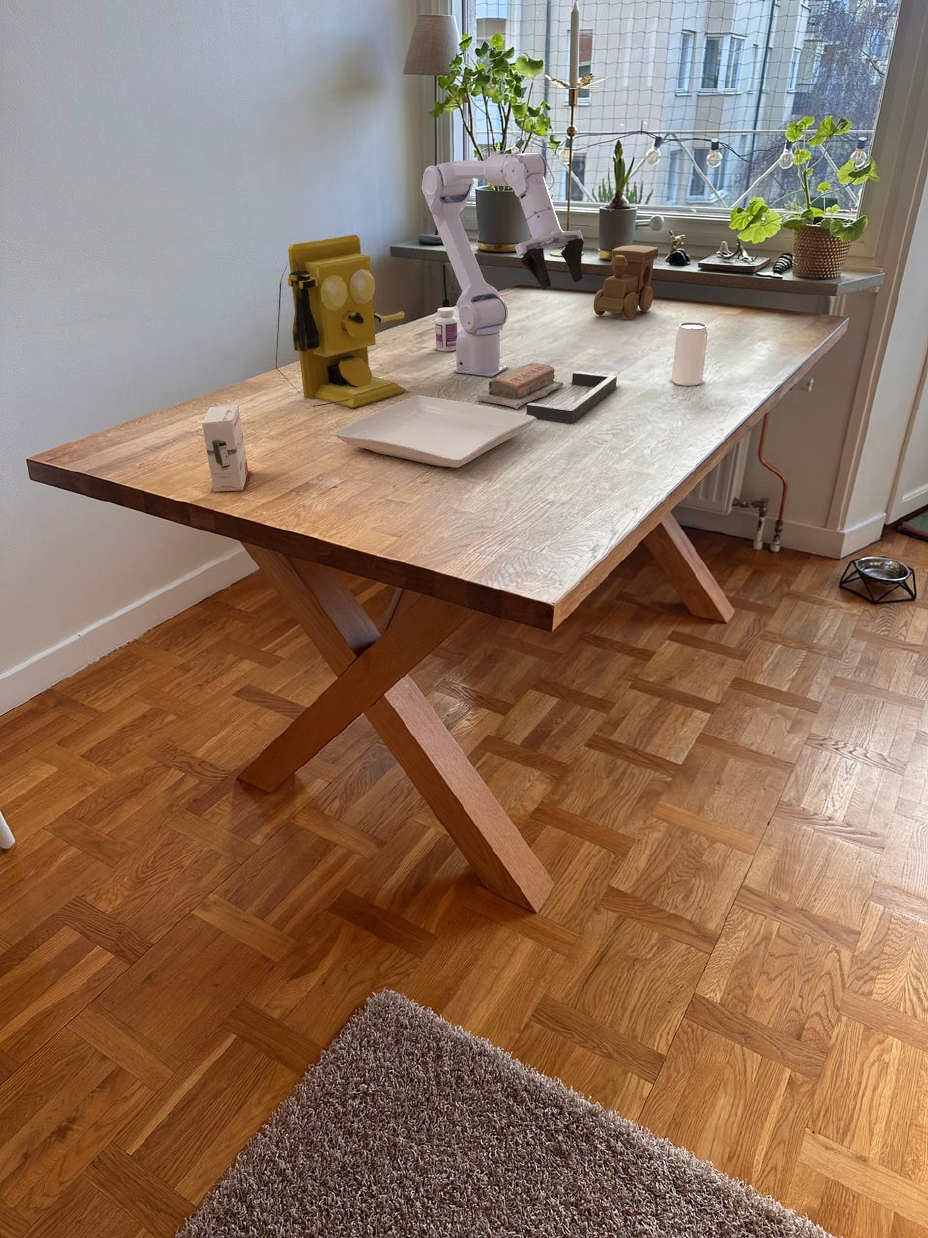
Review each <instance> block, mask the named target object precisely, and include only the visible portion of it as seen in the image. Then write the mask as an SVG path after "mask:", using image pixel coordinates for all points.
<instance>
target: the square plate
mask: <svg viewBox="0 0 928 1238" xmlns="http://www.w3.org/2000/svg"><path fill="white" fill-rule="evenodd" d="M535 421H537V419H536V417H534V416H530V415H526V414H524V413H519V412H515V411H510V410H506V409H502V408H496V407H491V406H486V405H482V404H478V403H477V404H476V403H472V402H467V401H461V400H453V399H448V398H440V397H432V396H427V395H419V394H418V395H414V396H412V397H409V398H406V399H404V400H401V401H399V402H397V403H394V404H391V405H389V406H387V407H385V408H381V409H380V410H377V411H375V412H373V413H370V414H369V415H367V416H364V417H362V418H360V419H358V420H355V421H354V422H352V423H349V424H348V425H346V426H344V427H342V428H339V429H337V430H335V431H334V432H332V435H333V436H335V437H336V438H338V439H339V440H340V441H342V442H343V443H345V444H346V445H347V444H348V445H350V446H353V447H357V448H362V449H367V450H369V451H371V452H373V453H376V454H381V455H385V456H391V457H395V458H399V459H405V460H408V461H409V460H410V461H414V462H418V463H422V464H425V465H431V466H436V467H447V468H448V467H449V468H460V467H461V466H464V465H466V464H467V463H470V462H471V461H473V460H475V459H477V458H478V457H480V456H481V455H483V454H486V452H488V451H490V450H491V449H494V448H496V447H497V446H499V445H501V444H503V443H505V442H507V441H509V440H510V439H512V438H514V437H516V436H517V435H519V434H521V433H522V432H524V431H525V430H527V429H528V428H529V427H531V425H532V424H533V423H534V422H535Z"/></svg>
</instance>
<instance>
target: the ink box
mask: <svg viewBox="0 0 928 1238" xmlns="http://www.w3.org/2000/svg"><path fill="white" fill-rule="evenodd" d="M241 421H242V420H241V414H240V408H239V405H238V404H231V405H220V406H219V405H217V406H210V407H209V408H208V410H207V412H206V414H205V416H204V419H203V421H202V423H201V426H202V432H203V437H204V443H205V448H206V449H205V450H206V455H207V462H208V466H209V473H210V479H211V484H212V491H213V492H235V491H243V490H244V487H245V484H246V480H247V477H248V473H249V466H248V461H247V454H246V447H245V441H244V434H243V428H242V427H243V426H242V422H241Z"/></svg>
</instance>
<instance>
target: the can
mask: <svg viewBox="0 0 928 1238" xmlns="http://www.w3.org/2000/svg"><path fill="white" fill-rule="evenodd" d="M678 326H679V327H678V329H677V331H676V333H675V341H674V350H673V351H674V352H673V362H672V372H671V381H672V384H675V385H678V386H682V387H694V386H699V385H701V383H702V382H703V376H704V368H705V360H706V354H707V353H706V352H707V343H708V334H709V333H708V330H707V327H708V326H707V324H705V323H702V322H693V321H692V322H691V321H690V322H689V321H687V322H682V323H680V324H679V325H678Z"/></svg>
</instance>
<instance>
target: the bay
mask: <svg viewBox="0 0 928 1238" xmlns="http://www.w3.org/2000/svg"><path fill="white" fill-rule="evenodd" d="M617 380H618V376H617V375H610V374H602V373H594V372H586V371H578V370H574V371H573V372H572V378H571V385H574V386H582V387H591V390H589V391H588V392H586V393H585V394H584V395H583V396H581V397H580V398H579V399H577V400H576V401H575V402H573V403H572V404H571V405H570V406H567V407H564V406H556V405H549V404H542V403H537V402H536V403H534V402H527V403H526V411H525V412H526V414H525V415H530V416H534V417H536V420H543V421H550V422H558V423H564V424H573V423H575V422H576V421H577V420H579V418H581V417H582V416H583V415H584V414H586V413H587V412H588V411H589V410H590V409H592V408H593V407H595V406H596V405H597V404H598V403H599V402H601V401H602V400H603V399H604V398H605V397H607V396H608V395H609V394H611V393H612V392H613V391H614V390H615V389H616V388H617V382H618V381H617Z"/></svg>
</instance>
